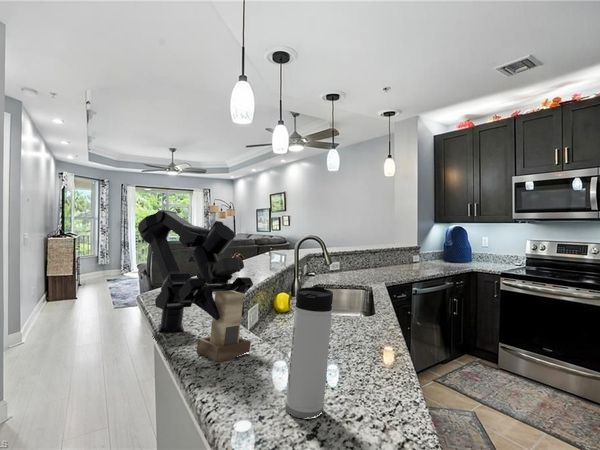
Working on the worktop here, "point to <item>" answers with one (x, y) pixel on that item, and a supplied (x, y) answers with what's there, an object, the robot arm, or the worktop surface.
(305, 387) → the travel mug
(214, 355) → the post socket
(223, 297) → the block
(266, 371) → the worktop surface
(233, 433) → the worktop surface
